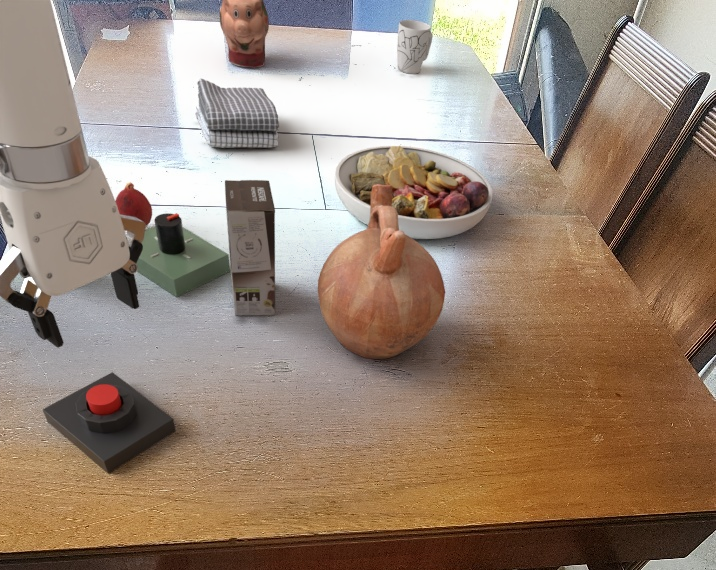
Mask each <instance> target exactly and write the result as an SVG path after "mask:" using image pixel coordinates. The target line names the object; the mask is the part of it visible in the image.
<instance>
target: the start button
mask: <svg viewBox="0 0 716 570" xmlns="http://www.w3.org/2000/svg"><path fill="white" fill-rule="evenodd" d="M86 398H87V401H88V404H89V407H90V410H91V411H92V412H93V413H94V414H96V415H101V416H103V415H109V414H113V413H115V412H116V411H118V410H119V409H120V407H121V400H120V396H119V393H118V390H117V389H116V388H115V387H114V386H111V385H107V384H102V385H97V386H94V387H92V388H91V389H90V390H89V391H88V392H87V394H86Z"/></svg>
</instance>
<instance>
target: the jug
mask: <svg viewBox="0 0 716 570" xmlns="http://www.w3.org/2000/svg"><path fill="white" fill-rule="evenodd" d="M391 205H392V186H391V185H380V184H377V185H373V186H372V191H371V208H370V221H369V224H368V225H367V227H366V229H364V230H361V231H359V232H356V233H355V234H352V235H351V236H348V237H347V238H346V239H344V240H343V241H341V242H340V243H339V244H337V245H336V247H335V248H334V249H333V250H332V251H331V252H330V254H329V255H328V257H327V258H326V259H325V261H324V262H323V265H322V267H321V270H320V272H319V275H318V279H317V296H318V297H317V298H318V302H319V303H318V305H319V309H320V312H321V315H322V318H323V319H324V321H325V323H326V325H327V327H328V329H329V330H330V332H331V333H332V334H333V336H334V337H335V338H336V339H337V341H338V342H339V343H340V344H341V346H342V347H343V348H345V349H346V350H347V351H349V352H351V353H352V354H355V355H357V356H360V357H362V358H365V359H370V360H386V359H390V358H393V357H396V356H398V355H400V354H402V353H403V352H405V351H408V350H409V349H410V348H412V347H413V346H415V345H417V344H418V343H419V342H421V341H422V340H424V339H425V338H426V337H427V336H428V335H429V333H430V332H431V331H432V329H433V328H434V326H435V325H436V323H437V321H438V320H439V318H440V316H441V313H442V311H443V308H444V304H445V298H446V288H445V283H444V280H443V274H442V272H441V270H440V268H439V265H438V264H437V262H436V259H434V257H433V256H432V255H431V253H430V252H429V251H428V250H427V249H426V248H425V247H424V246H423V245H422V244H420V243H419V242H418V241H416V240H415V238H410V237H409V236H407V235H405V234H404V232H403V231H399V225H398V212H397V210H396V209H395V208H394V207H392V206H391Z"/></svg>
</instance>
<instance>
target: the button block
mask: <svg viewBox="0 0 716 570" xmlns="http://www.w3.org/2000/svg"><path fill="white" fill-rule="evenodd" d="M102 384H107V385H111V386H114V387H115V388H116V389H117V390H118V393H119V396H120V400H121V407H120V409H119V410H118V411H116V412H115V413H113V414H109V415H103V416H101V415H96V414H94V413H93V412H92V411H91V410H90V407H89V404H88V401H87V398H86V394H87V392H88V391H89V390H90V389H91V388H92V387H94V386H97V385H102ZM42 413H43V415H44V417H45V419H46V421H47V423H48V424H49V425H50V426H51V427H53V428H54V429H55V430H56V431H57V432H59V434H61V435H62V436H63V437H64V438H65V439H67V440H68V441H69V442H71V444H73V445H74V446H75V447H76V448H77V449H79V451H81V452H82V453H83V454H84V455H85V456H86V457H88V458H89V459H90V460H91V461H92V462H94V463H95V465H97V466H98V467H99V468H101V469H102V470H103V471H104V472H105V473H107V474H108V475H110V473H112V472H114V471H115V470H117V469H119V468H120V467H122V466H123V465H125V464H126V463H128V462H130V461H132V460H133V459H135V458H136V457H137V456H139V455H141V454H143V453H144V452H145V451H147V450H149V449H150V448H152V447H154V446H155V445H156V444H158V443H160V442H161V441H162V440H164V439H165V438H167V437H170V435H172V434H174V433H175V432H177V430H176V425H175V424H176V423H175V419H174V418H173V417H172V416H171V415H169V413H167V412H165V410H163V409H161V408H160V407H159V406H158V405H156V404H155V403H154V402H152V401H151V400H150V399H149V398H147V397H146V396H145V395H143V394H142V393H141V392H139V391H138V390H137V389H136V388H134V387H132V385H131V384H129V383H127V382H126V381H125V380H124V379H122V378H121V377H119V376H118V375H117V374H115V373H114V371H112V372H110V373H108V374H106V375H104V376H102V377H100V378H99V379H97V380H94V381H93V382H90V383H89V384H87V385H85V386H84V387H82V388H80V389H78V390H76V391H74V392H72V393H70V394H68V395H67V396H65V397H63V398H61V399H59V400H57V401H55V402H53V403H52V404H50V405H48V406H46V407H44V408H42Z"/></svg>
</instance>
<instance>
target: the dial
mask: <svg viewBox="0 0 716 570" xmlns="http://www.w3.org/2000/svg"><path fill="white" fill-rule="evenodd" d="M154 226H155V227H156V233H157V238H158V244H159V249H160V251H161V252H163V253H166V254H179V253H181V252H183V251H184V250H185V241H184V234H183V221H182V217H180V214H179V213H177V212H175V213H168V212H167V213H161V214H158V215H157V216H155V218H154Z"/></svg>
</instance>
